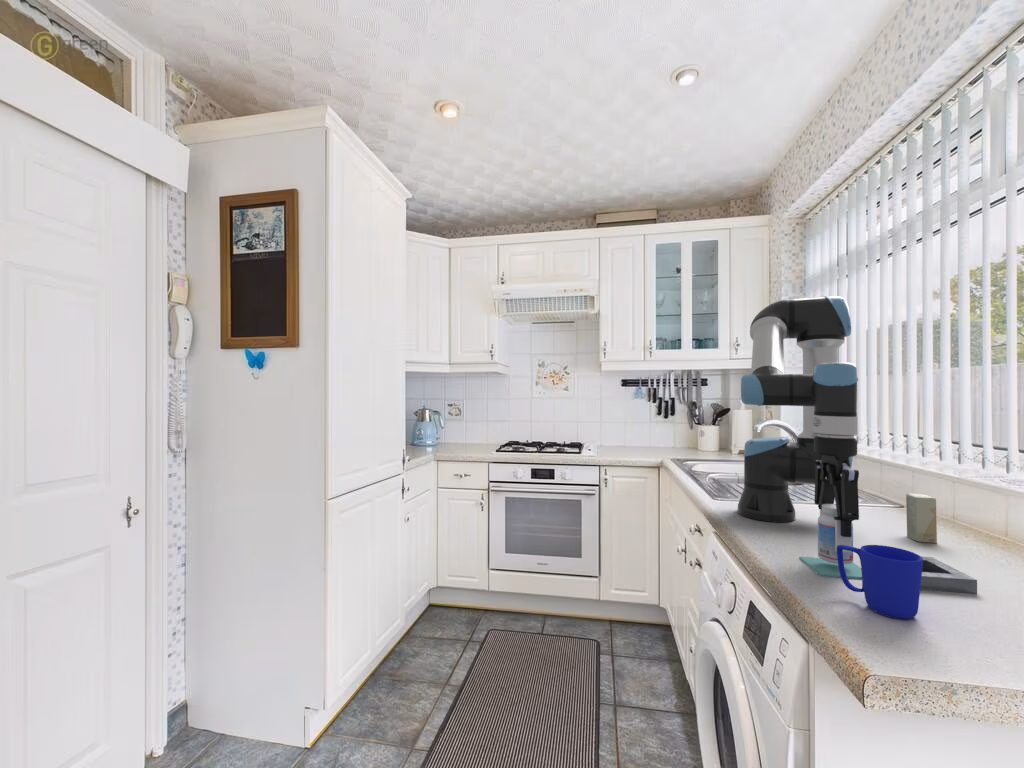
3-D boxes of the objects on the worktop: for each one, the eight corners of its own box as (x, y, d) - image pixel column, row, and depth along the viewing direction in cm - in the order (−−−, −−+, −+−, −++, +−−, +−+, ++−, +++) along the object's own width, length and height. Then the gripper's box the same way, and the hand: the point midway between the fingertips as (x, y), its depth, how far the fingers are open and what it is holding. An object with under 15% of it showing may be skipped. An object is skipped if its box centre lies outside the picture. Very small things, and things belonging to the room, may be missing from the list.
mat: (799, 558, 103) (799, 556, 103) (849, 561, 101) (849, 559, 101) (819, 576, 93) (819, 574, 93) (876, 580, 92) (876, 578, 92)
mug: (847, 589, 87) (847, 535, 87) (931, 615, 77) (930, 555, 77) (826, 599, 83) (826, 543, 83) (912, 629, 73) (912, 565, 73)
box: (937, 543, 114) (937, 498, 114) (916, 541, 115) (915, 497, 115) (926, 537, 119) (925, 494, 119) (905, 535, 120) (905, 492, 120)
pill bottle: (859, 566, 94) (859, 510, 94) (825, 564, 95) (825, 509, 95) (844, 556, 100) (844, 503, 100) (812, 553, 101) (812, 502, 101)
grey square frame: (867, 564, 100) (867, 552, 100) (931, 569, 98) (931, 557, 98) (903, 587, 88) (903, 574, 88) (977, 593, 86) (977, 580, 86)
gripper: (796, 431, 108) (796, 531, 108) (837, 440, 89) (838, 561, 89) (832, 432, 106) (832, 533, 106) (882, 441, 88) (882, 564, 87)
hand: (835, 545), depth 97 cm, fingers closed on pill bottle, 6 cm apart
